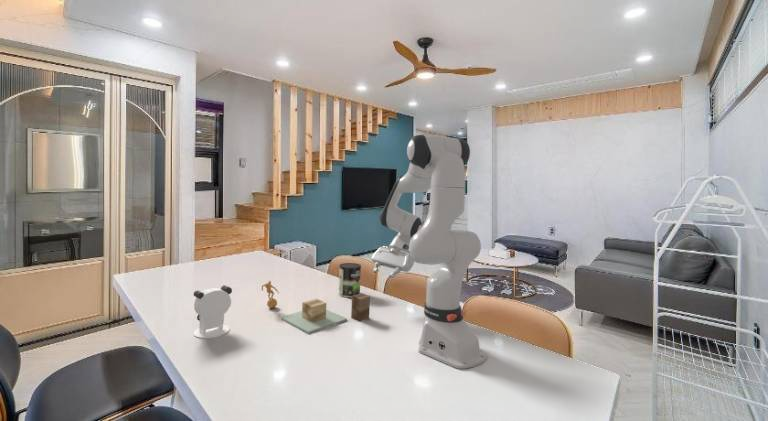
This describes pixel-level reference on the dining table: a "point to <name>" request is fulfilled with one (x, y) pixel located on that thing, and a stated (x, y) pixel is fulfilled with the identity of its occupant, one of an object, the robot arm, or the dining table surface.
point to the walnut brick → (360, 307)
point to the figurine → (271, 301)
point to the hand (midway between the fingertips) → (382, 274)
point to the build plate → (311, 327)
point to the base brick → (314, 310)
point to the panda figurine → (212, 311)
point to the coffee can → (349, 279)
